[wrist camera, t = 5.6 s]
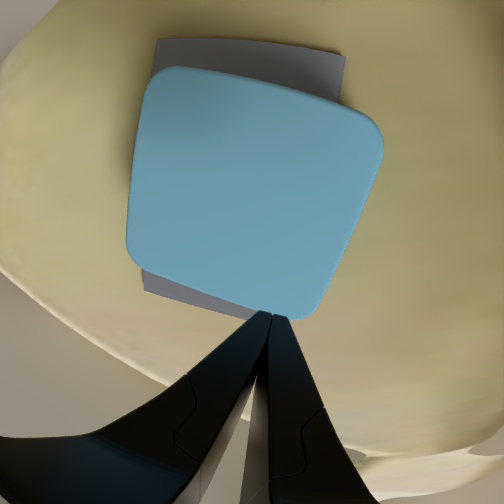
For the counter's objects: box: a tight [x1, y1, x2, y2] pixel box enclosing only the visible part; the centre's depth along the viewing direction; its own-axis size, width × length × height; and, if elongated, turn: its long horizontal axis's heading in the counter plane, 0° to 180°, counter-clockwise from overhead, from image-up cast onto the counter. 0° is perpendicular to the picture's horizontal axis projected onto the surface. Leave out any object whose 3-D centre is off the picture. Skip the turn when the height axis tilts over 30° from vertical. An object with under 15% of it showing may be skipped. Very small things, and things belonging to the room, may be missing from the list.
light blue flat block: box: [126, 66, 384, 320], centre depth 16 cm, size 12×4×12 cm
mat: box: [143, 38, 346, 320], centre depth 19 cm, size 12×20×1 cm, turn 171°
